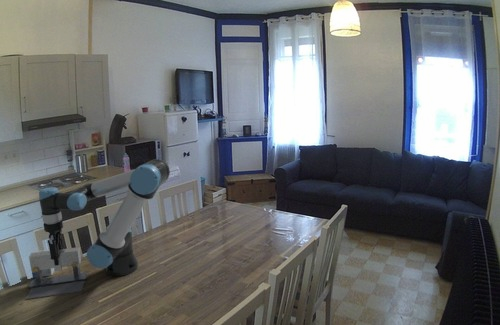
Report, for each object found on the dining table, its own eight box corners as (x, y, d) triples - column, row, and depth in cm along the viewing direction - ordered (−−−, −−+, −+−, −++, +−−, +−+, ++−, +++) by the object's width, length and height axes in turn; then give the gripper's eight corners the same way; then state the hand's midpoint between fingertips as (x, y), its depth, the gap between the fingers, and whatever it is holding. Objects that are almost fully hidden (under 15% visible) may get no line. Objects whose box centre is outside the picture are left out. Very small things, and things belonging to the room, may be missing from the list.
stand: (87, 274, 166) (85, 256, 164) (85, 280, 160) (82, 262, 158) (32, 281, 160) (29, 263, 158) (27, 289, 154) (24, 270, 152)
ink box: (32, 278, 163) (28, 255, 160) (35, 273, 167) (31, 251, 165) (51, 275, 165) (48, 253, 162) (54, 270, 170) (51, 248, 167)
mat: (84, 281, 159) (84, 280, 159) (81, 291, 152) (81, 290, 152) (32, 289, 154) (32, 288, 154) (25, 299, 146) (25, 298, 146)
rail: (81, 260, 163) (79, 247, 161) (79, 264, 159) (77, 250, 157) (34, 266, 158) (32, 252, 156) (31, 271, 154) (29, 257, 152)
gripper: (49, 215, 161) (55, 260, 166) (37, 229, 145) (45, 278, 150) (66, 213, 163) (72, 258, 168) (56, 227, 147) (63, 276, 152)
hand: (59, 267), depth 159 cm, fingers closed on rail, 4 cm apart
